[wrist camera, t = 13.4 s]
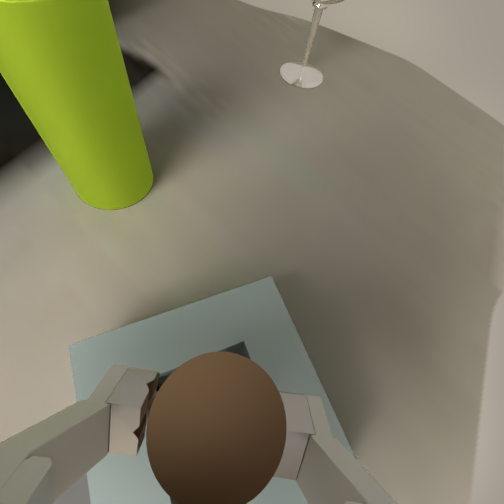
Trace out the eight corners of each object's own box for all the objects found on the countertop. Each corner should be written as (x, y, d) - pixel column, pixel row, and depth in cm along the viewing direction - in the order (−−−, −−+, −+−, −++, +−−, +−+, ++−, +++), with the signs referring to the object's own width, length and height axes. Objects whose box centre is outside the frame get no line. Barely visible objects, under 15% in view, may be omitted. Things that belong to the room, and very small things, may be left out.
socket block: (94, 356, 18) (68, 345, 15) (262, 295, 21) (271, 275, 17) (135, 596, 13) (111, 653, 10) (341, 475, 16) (371, 491, 13)
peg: (179, 397, 17) (131, 381, 7) (228, 377, 18) (255, 332, 7) (195, 455, 16) (167, 548, 5) (246, 430, 17) (309, 468, 6)
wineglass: (308, 102, 31) (357, -55, 21) (259, 71, 33) (281, -90, 22) (342, 77, 34) (400, -73, 23) (295, 49, 36) (330, -102, 25)
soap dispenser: (126, 136, 26) (-58, -433, 8) (167, 188, 24) (36, -425, 6) (57, 162, 24) (-382, -527, 6) (95, 222, 22) (-406, -566, 4)
